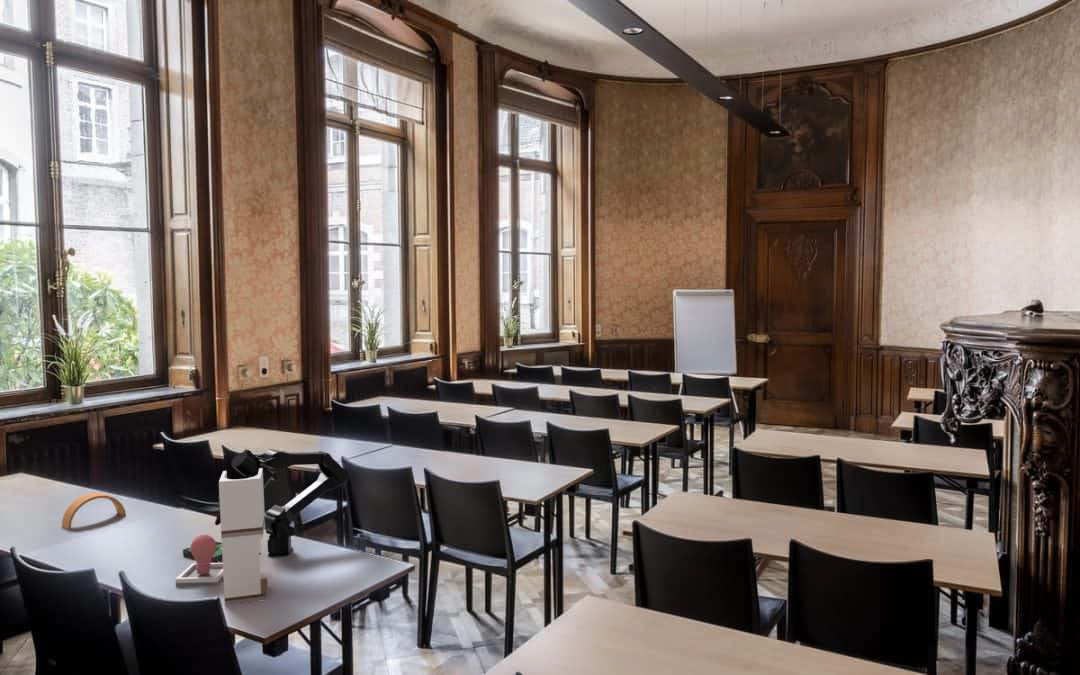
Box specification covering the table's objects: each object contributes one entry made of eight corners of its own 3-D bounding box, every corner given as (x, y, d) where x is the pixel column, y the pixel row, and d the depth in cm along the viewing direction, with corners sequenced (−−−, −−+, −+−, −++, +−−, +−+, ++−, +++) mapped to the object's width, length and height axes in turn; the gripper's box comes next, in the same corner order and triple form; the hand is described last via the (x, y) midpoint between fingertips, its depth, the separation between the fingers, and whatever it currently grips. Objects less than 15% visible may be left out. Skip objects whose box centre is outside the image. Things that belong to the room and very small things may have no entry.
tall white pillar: (265, 600, 216) (260, 478, 213) (224, 605, 213) (218, 481, 210) (267, 584, 227) (262, 468, 224) (228, 589, 224) (223, 471, 221)
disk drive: (182, 558, 250) (214, 565, 243) (181, 549, 250) (213, 556, 243) (209, 547, 259) (240, 554, 253) (208, 539, 259) (240, 546, 252)
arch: (126, 515, 292) (124, 490, 291) (68, 530, 277) (66, 503, 276) (119, 512, 296) (117, 487, 295) (61, 526, 280) (59, 500, 279)
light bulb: (222, 570, 236) (220, 532, 235) (208, 579, 229) (206, 540, 228) (201, 568, 237) (199, 530, 236) (186, 578, 230) (184, 539, 229)
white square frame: (232, 569, 239) (231, 562, 239) (217, 585, 227) (216, 578, 227) (192, 570, 238) (192, 563, 238) (175, 586, 227) (175, 578, 226)
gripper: (222, 465, 245) (189, 508, 238) (253, 475, 233) (219, 520, 226) (246, 484, 252) (215, 526, 244) (277, 495, 240) (246, 539, 232)
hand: (223, 527), depth 236 cm, fingers open, 9 cm apart
